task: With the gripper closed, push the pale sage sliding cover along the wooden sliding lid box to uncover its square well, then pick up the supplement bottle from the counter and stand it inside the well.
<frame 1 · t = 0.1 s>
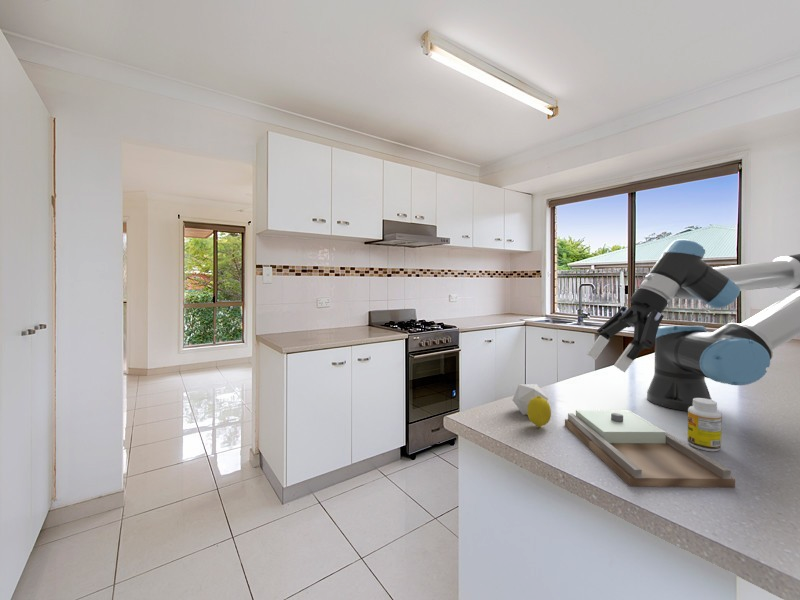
hand: (603, 362, 91), 15 cm above the countertop, tool tilted 35°, fingers open, 13 cm apart
wooden sliding lid box: (634, 450, 75), on the countertop
die: (529, 413, 98), on the countertop
lemon: (538, 428, 88), on the countertop
supplement bottle: (703, 447, 77), on the countertop
slide cover: (617, 422, 82), point 3 cm above the countertop, slide at 0.0 cm
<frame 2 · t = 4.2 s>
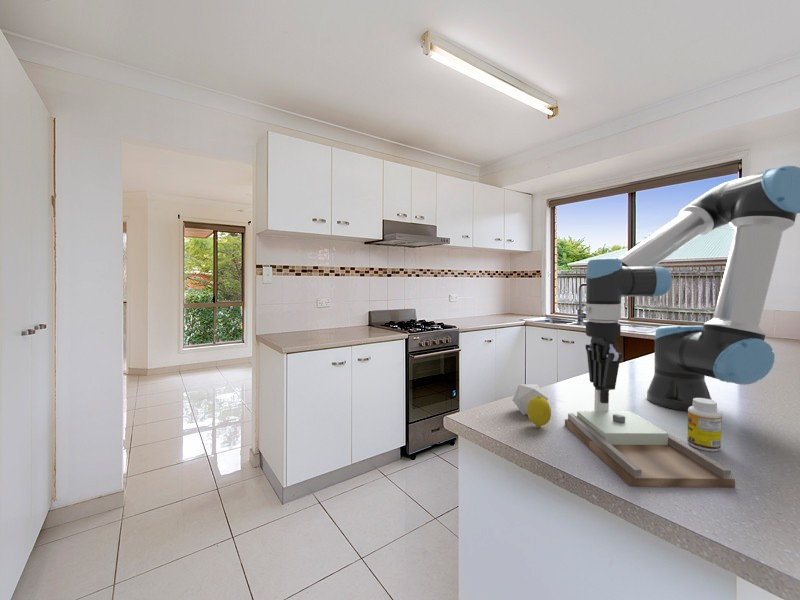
hand: (601, 414, 88), 3 cm above the countertop, tool pointing down, fingers closed
slide cover: (618, 424, 81), point 3 cm above the countertop, slide at 0.7 cm, touching gripper
everything else where it was.
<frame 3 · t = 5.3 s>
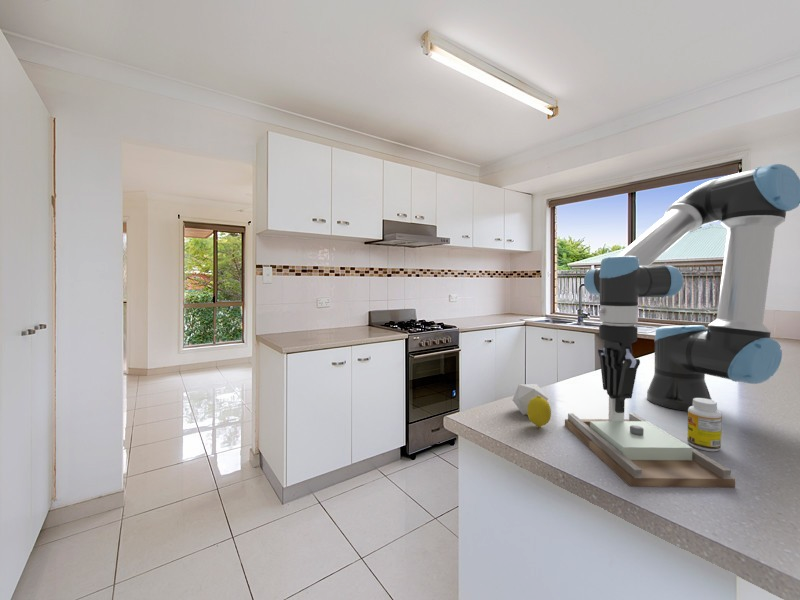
hand: (616, 424, 82), 3 cm above the countertop, tool pointing down, fingers closed
slide cover: (636, 436, 75), point 3 cm above the countertop, slide at 7.2 cm, touching gripper
everything else where it was.
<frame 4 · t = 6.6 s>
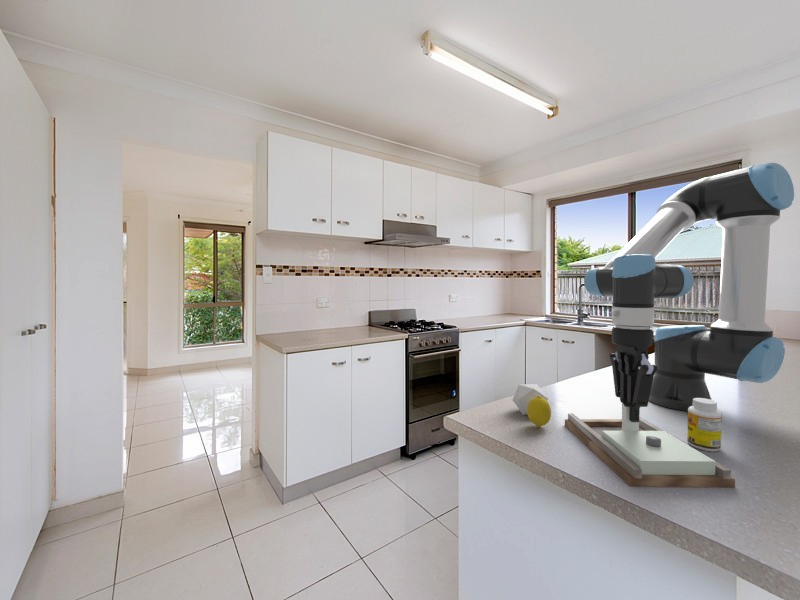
hand: (630, 434, 77), 3 cm above the countertop, tool pointing down, fingers closed
slide cover: (653, 447, 69), point 3 cm above the countertop, slide at 12.4 cm, touching gripper
everything else where it was.
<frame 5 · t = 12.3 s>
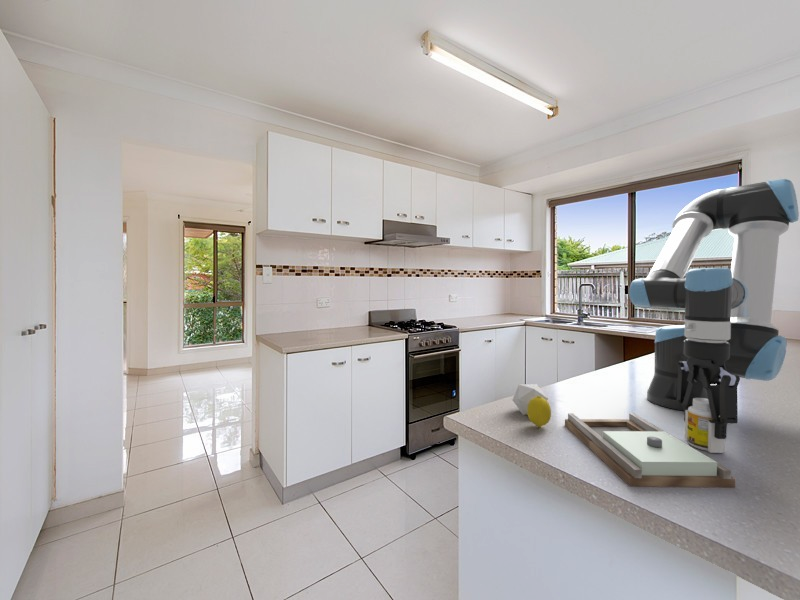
hand: (703, 444, 77), 0 cm above the countertop, tool pointing down, fingers closed on supplement bottle, 6 cm apart
supplement bottle: (703, 447, 77), on the countertop, touching gripper
slide cover: (654, 448, 69), point 3 cm above the countertop, slide at 12.7 cm
everything else where it was.
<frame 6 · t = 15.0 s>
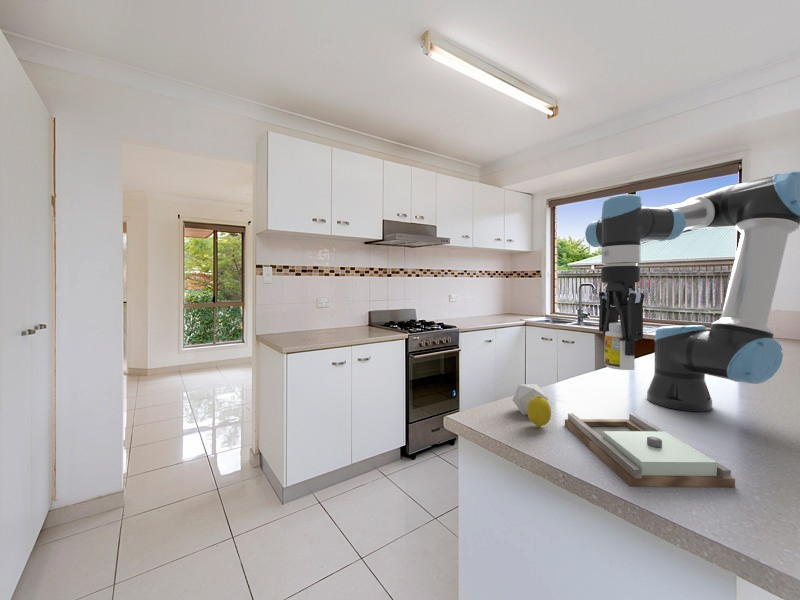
hand: (618, 365, 81), 17 cm above the countertop, tool pointing down, fingers closed on supplement bottle, 6 cm apart
supplement bottle: (618, 368, 81), point 16 cm above the countertop, touching gripper
everything else where it was.
when the fingers open (3 cm above the countertop, at t = 17.9 s): supplement bottle drops 2 cm, resting on wooden sliding lid box.
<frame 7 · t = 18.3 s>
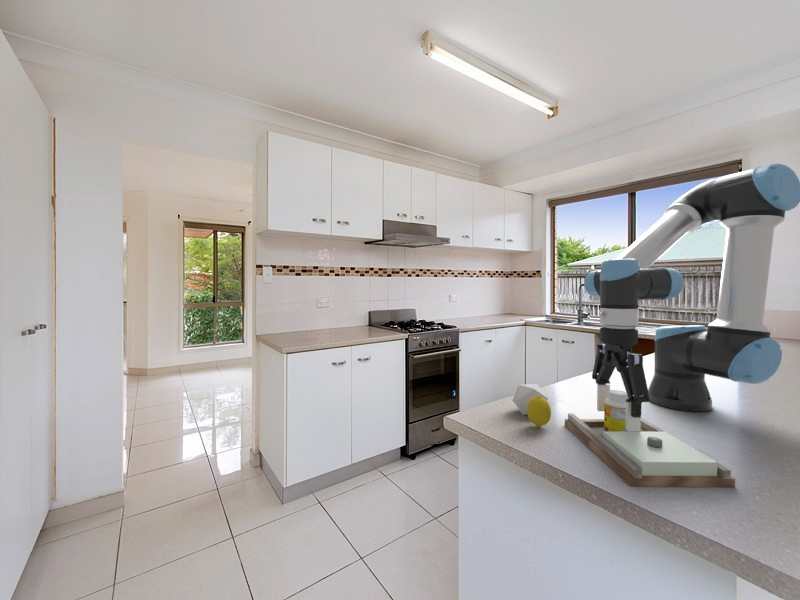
hand: (617, 419, 82), 4 cm above the countertop, tool pointing down, fingers open, 11 cm apart
supplement bottle: (617, 436, 82), resting on wooden sliding lid box
everything else where it was.
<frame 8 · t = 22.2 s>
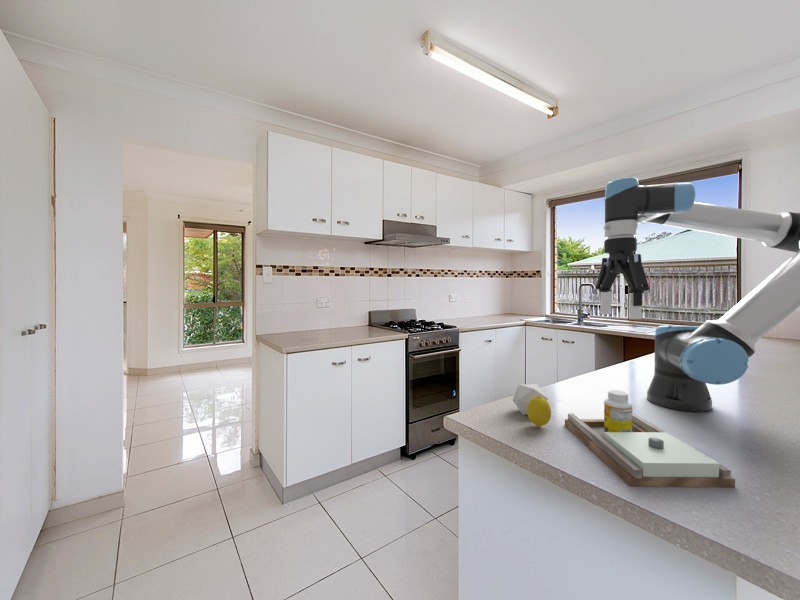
hand: (619, 316, 96), 27 cm above the countertop, tool pointing down, fingers open, 13 cm apart
slide cover: (655, 449, 69), point 3 cm above the countertop, slide at 13.1 cm
everything else where it was.
at the end: slide cover slide at 13.1 cm; supplement bottle 0.2 cm from the target spot on the wooden sliding lid box, point 0.2 cm above the wooden sliding lid box's base; supplement bottle tilted 0° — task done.
